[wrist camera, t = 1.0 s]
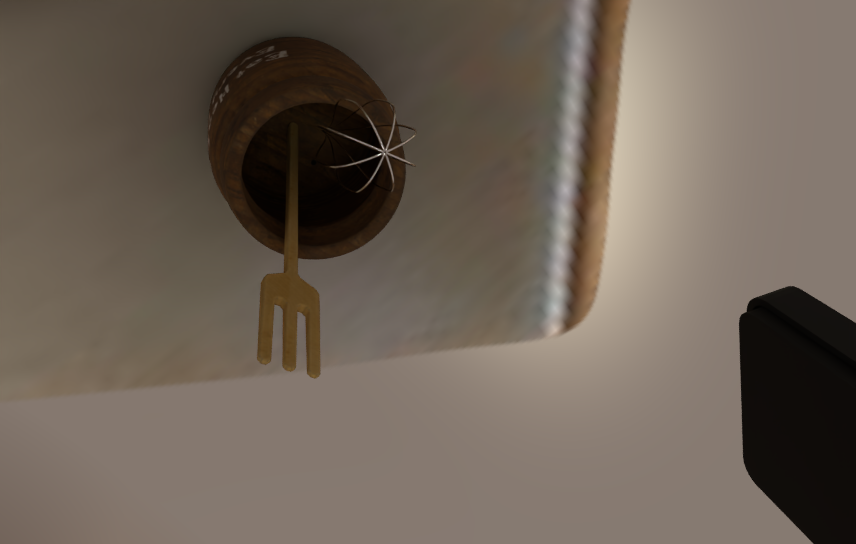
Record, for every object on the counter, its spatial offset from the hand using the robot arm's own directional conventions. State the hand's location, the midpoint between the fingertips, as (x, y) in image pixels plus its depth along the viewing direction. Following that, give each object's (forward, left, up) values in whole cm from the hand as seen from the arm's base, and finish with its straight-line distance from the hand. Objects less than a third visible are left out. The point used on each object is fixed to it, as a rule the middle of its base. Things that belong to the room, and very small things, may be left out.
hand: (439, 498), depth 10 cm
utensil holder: (0, 0, -20) cm, 20 cm away
